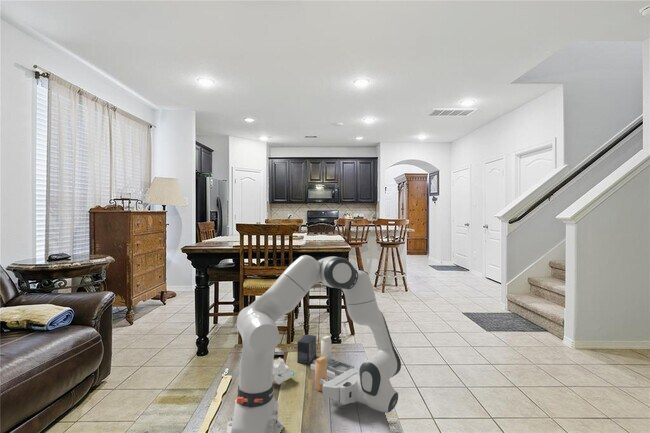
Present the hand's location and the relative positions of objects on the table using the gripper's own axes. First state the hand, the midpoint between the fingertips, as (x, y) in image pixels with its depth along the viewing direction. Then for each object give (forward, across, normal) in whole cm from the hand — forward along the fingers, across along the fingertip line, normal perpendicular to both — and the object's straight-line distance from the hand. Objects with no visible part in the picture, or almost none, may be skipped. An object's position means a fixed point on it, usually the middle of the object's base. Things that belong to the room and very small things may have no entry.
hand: (328, 376), depth 143 cm
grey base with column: (+10, -16, +6) cm, 20 cm away
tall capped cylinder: (+4, 0, +6) cm, 8 cm away
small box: (+28, -17, +7) cm, 33 cm away
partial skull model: (+22, +6, +7) cm, 24 cm away
